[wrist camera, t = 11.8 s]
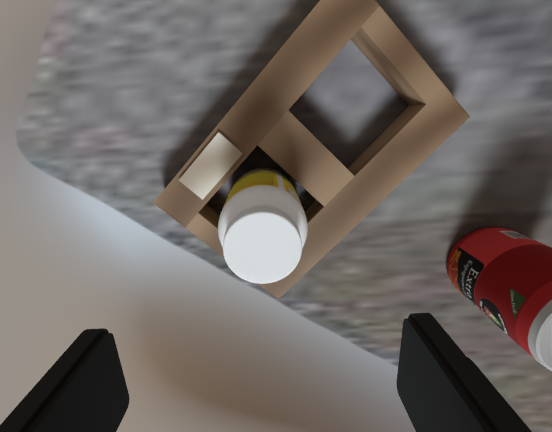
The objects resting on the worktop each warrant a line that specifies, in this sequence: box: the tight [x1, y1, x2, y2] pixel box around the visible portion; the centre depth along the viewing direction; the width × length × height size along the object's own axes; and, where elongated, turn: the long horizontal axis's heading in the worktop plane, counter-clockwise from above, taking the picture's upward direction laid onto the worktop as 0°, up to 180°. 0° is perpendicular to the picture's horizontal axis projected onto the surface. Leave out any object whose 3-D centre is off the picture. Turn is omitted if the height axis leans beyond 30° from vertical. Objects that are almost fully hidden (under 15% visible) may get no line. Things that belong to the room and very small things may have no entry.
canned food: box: [447, 227, 552, 371], centre depth 25 cm, size 8×8×11 cm
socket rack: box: [154, 0, 470, 299], centre depth 25 cm, size 14×22×3 cm, turn 137°
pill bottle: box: [218, 168, 308, 284], centre depth 22 cm, size 6×6×11 cm
